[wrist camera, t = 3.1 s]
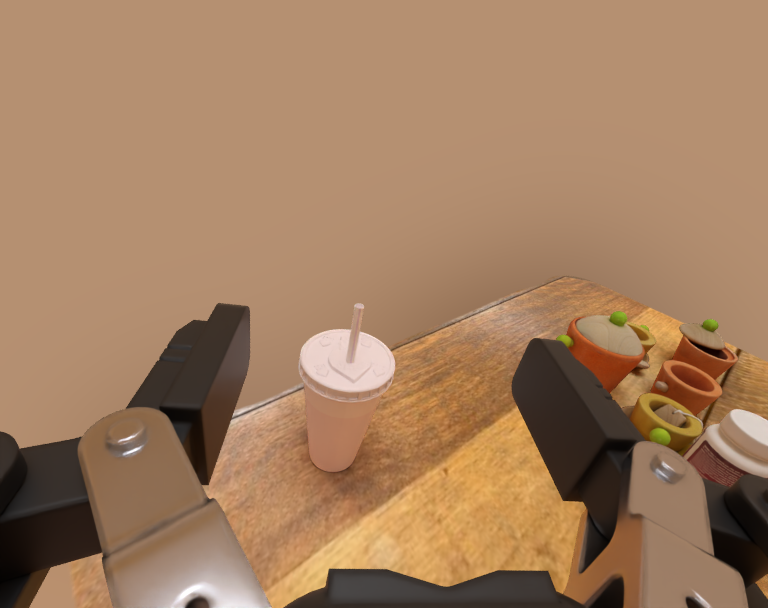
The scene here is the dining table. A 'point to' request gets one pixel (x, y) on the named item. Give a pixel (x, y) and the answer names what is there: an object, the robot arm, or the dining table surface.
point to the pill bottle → (731, 448)
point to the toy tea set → (675, 379)
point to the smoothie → (342, 390)
